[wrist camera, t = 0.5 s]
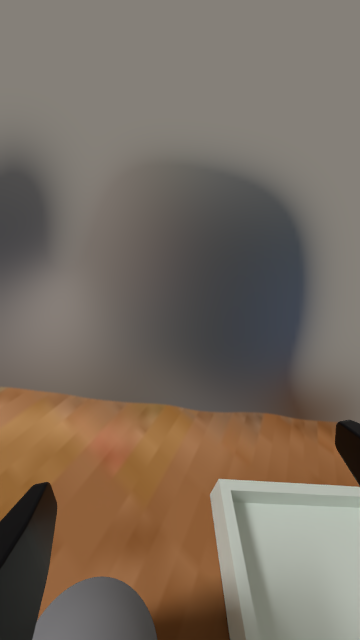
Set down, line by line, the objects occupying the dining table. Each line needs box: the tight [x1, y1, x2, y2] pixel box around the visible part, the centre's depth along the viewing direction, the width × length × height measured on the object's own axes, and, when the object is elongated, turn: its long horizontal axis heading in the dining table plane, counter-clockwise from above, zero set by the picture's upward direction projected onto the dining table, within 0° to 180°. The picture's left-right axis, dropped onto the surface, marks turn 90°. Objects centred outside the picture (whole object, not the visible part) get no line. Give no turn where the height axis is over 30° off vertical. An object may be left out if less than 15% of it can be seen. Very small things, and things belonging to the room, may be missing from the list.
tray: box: [210, 479, 360, 640], centre depth 18 cm, size 16×16×2 cm
